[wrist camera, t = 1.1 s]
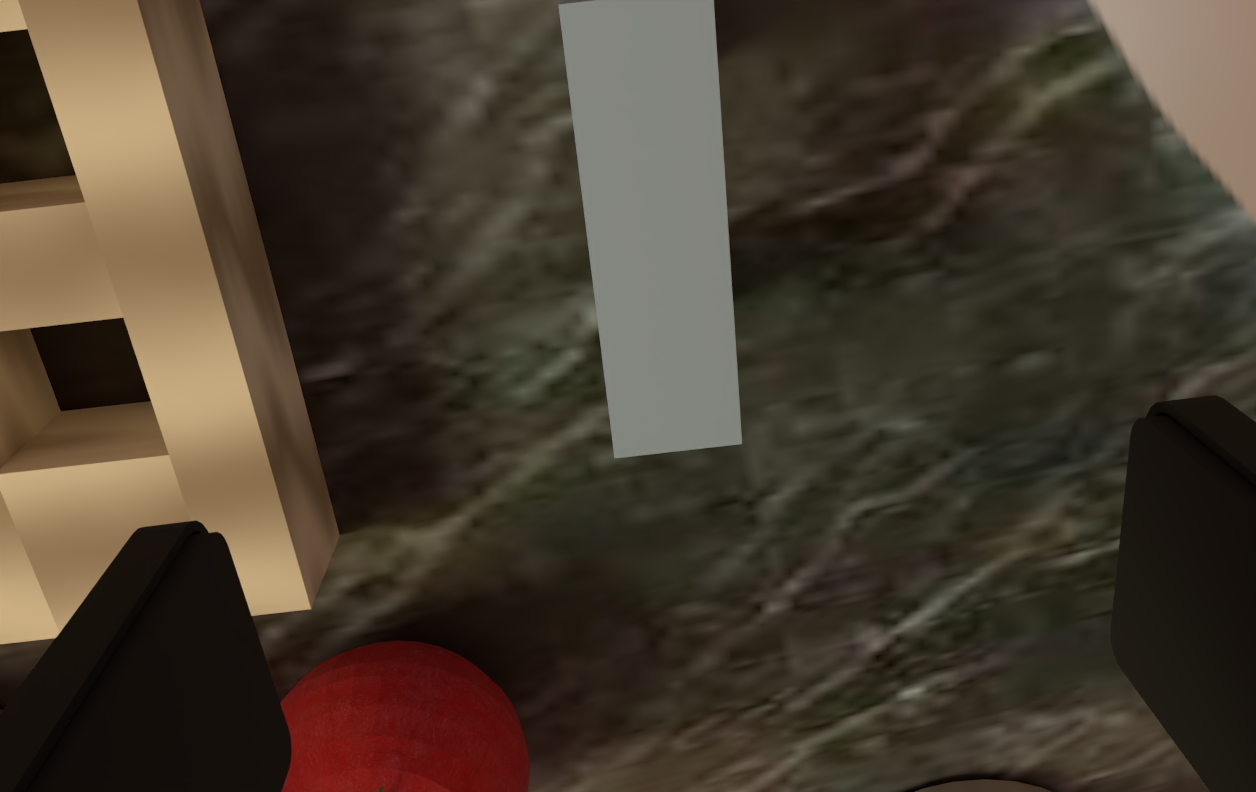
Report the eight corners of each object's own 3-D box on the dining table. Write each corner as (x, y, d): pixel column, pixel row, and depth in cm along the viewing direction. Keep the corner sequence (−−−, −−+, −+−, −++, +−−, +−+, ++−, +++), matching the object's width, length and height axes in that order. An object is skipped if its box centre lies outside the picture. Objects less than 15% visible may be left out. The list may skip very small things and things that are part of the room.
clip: (703, 323, 31) (742, 443, 24) (605, 334, 31) (614, 458, 24) (676, -31, 27) (712, -13, 20) (563, -18, 27) (558, 4, 20)
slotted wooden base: (339, 535, 34) (311, 609, 30) (38, 569, 34) (-26, 647, 30) (136, -241, 25) (60, -269, 21) (-278, -193, 25) (-427, -214, 21)
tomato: (362, 552, 34) (303, 721, 27) (582, 667, 37) (582, 851, 29) (241, 725, 37) (159, 921, 30) (453, 822, 39) (425, 1024, 32)
